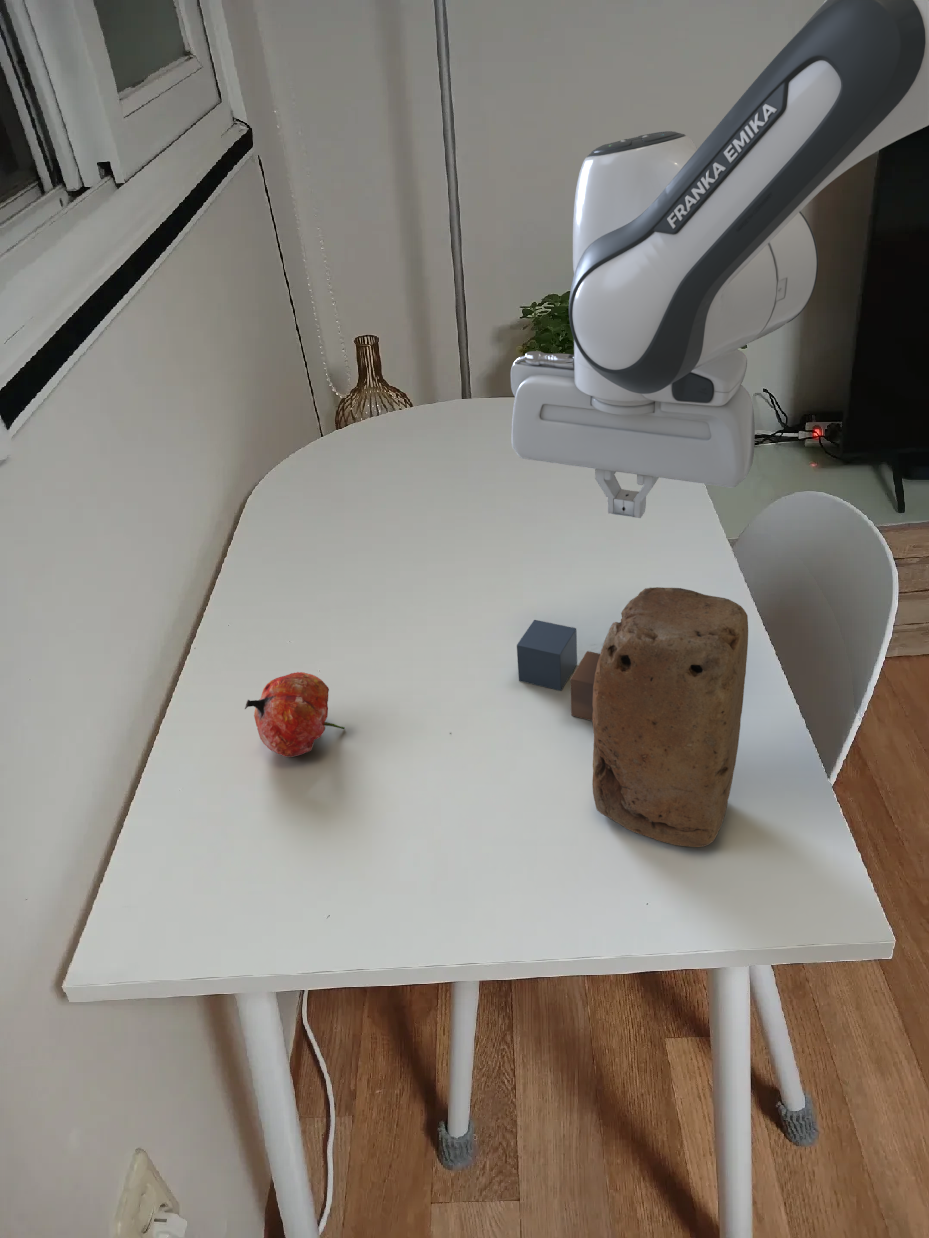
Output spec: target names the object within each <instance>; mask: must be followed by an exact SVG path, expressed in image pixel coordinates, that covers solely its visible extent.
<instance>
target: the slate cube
mask: <svg viewBox="0 0 929 1238" xmlns="http://www.w3.org/2000/svg"><path fill="white" fill-rule="evenodd" d="M577 633H578V632H577V628H576V627H572V626H568V625H564V624H557V623H553V622H548V621H544V620H538V619H533V621H532V622H531V624H529V626H528V628H527V629H526V631H525V632H524V634H523V635H522V637H521V638H520V639H519V641H518V642H517V643H516V656H517V671H518V672H517V674H518V682H523V683H527V684H531V685H534V686H539V687H544V688H547V689H552V690H556V691H562V690H563V688H564V687H565V685H566V683H567V681H568V680H569V678H571V675H572V673H574V672H573V671H575V668H577V666H578V644H577V643H578V642H577V641H578V640H577V639H578V636H577Z"/></svg>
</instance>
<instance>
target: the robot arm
mask: <svg viewBox="0 0 929 1238" xmlns="http://www.w3.org/2000/svg"><path fill="white" fill-rule="evenodd" d="M928 126H929V0H824V2H823V3H822V4H821V5H820V6H819V8H818V9H817V10H816V11H815V12H814V13H813V15H812V16H811V17H810V18H809V19H808V20H807V22H805V24H804V25H803V26H802V28H801V29H800V30H799V31H798V32H797V33H796V34H795V35H794V36H793V37H792V39H790V40H789V41H788V43H786V44H785V46H783V48H782V49H781V50H780V51H779V52H778V54H776V56H775V57H774V58H773V59H772V60H771V61H770V62H769V64H768V65H767V66H766V67H765V68H764V69H763V70H762V72H761V73H760V74H759V75H758V76H757V78H756V79H755V80H754V81H753V82H752V83H751V84H750V85H749V87H748V88H747V89H746V90H745V92H744V93H743V94H742V96H740V97H739V98H738V100H737V101H736V102H735V104H733V106H732V107H731V108H730V109H729V111H728V112H727V114H725V115H724V117H723V118H722V119H721V120H720V121H719V123H718V124H717V125H716V127H715V128H714V129H713V130H712V131H711V132H710V134H709V135H708V136H707V137H706V138H705V140H703V142H702V143H701V144H700V145H699V147H698V148H697V145H696V144H695V142H694V141H693V139H692V138H691V137H690V136H688V135H686V134H685V133H680V132H677V131H671V130H670V131H669V130H668V131H667V130H666V131H659V132H653V133H647V134H642V135H638V136H636V137H635V136H634V137H631V138H625V139H621V140H618V141H613V142H609V143H606V144H603V145H600V146H598V147H596V148H595V149H593V150H592V151H591V152H590V153H589V154H588V155H587V156H586V157H585V158H584V160H583V161H582V164H581V167H580V170H579V173H578V177H577V182H576V186H575V187H576V188H575V194H574V203H573V219H572V270H573V277H572V282H571V286H570V292H569V299H568V319H569V326H570V331H571V334H572V337H573V353H546V352H542V351H537V350H536V351H535V350H531V351H527V352H526V353H525V355H521V356H519V357H518V358H516V359H515V360H514V362H513V363H512V364H511V367H510V368H511V369H510V389H511V392H512V394H513V396H514V401H513V409H512V417H511V418H512V419H511V447H512V449H513V451H514V452H515V453H516V455H517V456H518V457H519V458H520V459H522V460H529V461H535V462H542V463H550V464H558V465H565V466H573V467H579V468H587V469H593V470H594V471H595V472H594V473H595V474H594V475H595V476H594V479H595V481H596V483H597V484H598V486H599V487H600V489H601V491H602V492H603V494H604V496H605V497H606V498H607V513H608V514H610V515H617V516H623V517H630V518H637V519H642V517H643V515H644V514H645V512H646V507H647V496H648V494H650V491H651V490H652V489H653V487H654V486H655V485H656V483H657V481H658V480H659V478H660V479H665V480H666V479H667V480H674V481H681V482H683V481H684V482H688V483H696V484H702V485H703V484H704V485H710V486H717V487H724V488H735V487H737V486H738V485H740V484H741V483H742V482H743V481H744V480H745V479H746V478H747V477H748V476H749V473H750V472H751V468H752V466H753V463H754V457H755V444H756V443H755V442H756V440H755V439H756V436H755V435H756V432H755V431H756V430H755V429H756V428H755V426H756V425H755V424H756V423H755V410H754V404H753V400H752V397H751V394H750V392H749V391H748V389H747V388H746V387H745V386H744V385H743V382H744V379H745V376H746V373H747V367H748V357H747V355H746V353H745V352H743V351H741V350H740V349H741V348H744V347H745V346H747V345H748V344H750V343H752V342H755V341H757V340H759V339H761V338H763V337H765V336H767V335H769V334H771V333H774V332H775V331H778V330H779V329H780V328H782V327H783V326H785V325H787V324H789V323H790V322H792V321H793V320H795V319H796V318H797V317H798V316H799V315H800V314H801V313H802V312H803V311H804V309H805V308H806V307H807V305H808V304H809V302H810V301H811V298H812V296H813V294H814V291H815V287H816V285H817V280H818V273H819V252H818V246H817V245H818V244H817V241H816V238H815V235H814V232H813V229H812V227H811V226H810V223H809V221H808V219H807V218H806V216H804V214H803V212H802V210H803V209H804V208H805V207H806V206H807V205H808V204H810V202H811V201H812V200H813V199H814V198H815V197H816V196H817V195H818V194H819V193H820V192H821V191H822V190H824V189H825V188H826V187H827V186H828V185H829V184H830V183H832V182H833V181H835V180H836V179H837V178H838V177H840V176H841V175H842V174H844V173H845V172H847V171H849V169H851V168H852V167H854V166H856V165H857V164H858V163H860V162H861V161H863V160H864V159H866V158H868V157H870V156H871V155H873V154H875V153H876V152H878V151H880V150H882V149H883V148H886V147H887V146H889V145H892V144H893V143H895V142H896V141H899V140H901V139H903V138H905V137H907V136H910V135H911V134H913V133H915V132H917V131H920V130H922V129H923V128H926V127H928ZM617 473H624V474H631V475H636V484H637V485H639V486H642V487H640V489H639V490H638V491H637V490H631V489H629V490H628V489H625V488H622V487H621V485H620V483H619V481H618V479H617V477H616V474H617Z"/></svg>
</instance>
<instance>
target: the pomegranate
mask: <svg viewBox="0 0 929 1238" xmlns="http://www.w3.org/2000/svg"><path fill="white" fill-rule="evenodd" d="M329 692H330V688H329V686H328V685H327V684H326V683H325V682H324V681H323V679H321V678H320V677H318V676H317V675H314V674H311V673H309V672H303V671H301V672H300V671H297V672H291V673H289V674H286V675H283V676H278V677H275V678H274V679H272V680H270V681H269V682H268V683H266V685H265V686H264V687H263V689H262V692H261V696H260V698H259V699H258V700H257V699H254V700H250V699H247V700H246V703H245V706H244V710H247V708H249V707H250V708H251V707H254V712H253V713H254V714H253V717H254V721H255V726H256V727H257V732H258V736H259V739H260V741H261V742H262V743H263V745H265V747H266V748H268V749H269V750H270V751H272V752H274V753H276V754H278V755H281V756H283V757H287V758H292V757H297V756H301V755H303V754H306V753H309V752H311V751H312V749H313V746H314V743H315V740H318V739H320V738H321V737H322V735H323V734H324V732H325V730H326V727H333V728H337V729H341V730H345V728H346V727H345V726H340V725H338V724H336V723H331V722H328V721H326V720H327V718H328V714H329V713H328V712H329V706H328V705H329V704H328V702H329Z"/></svg>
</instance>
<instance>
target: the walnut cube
mask: <svg viewBox="0 0 929 1238" xmlns="http://www.w3.org/2000/svg"><path fill="white" fill-rule="evenodd" d="M599 656H600V653H598V652H593V651H589V650H587V651H586V652H585V654H584V655H583V657H582V659H581V660H580V661H579V664H577V666H576V669H574V672H573V674H572V676H570V680H569V681H570V712H571V713H570V715H571V717H575V718H580V719H583V720H587V721H591V722H593V721H592V720H593V686H594V680H595V672H596V668H597V663H598V660H599Z"/></svg>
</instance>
